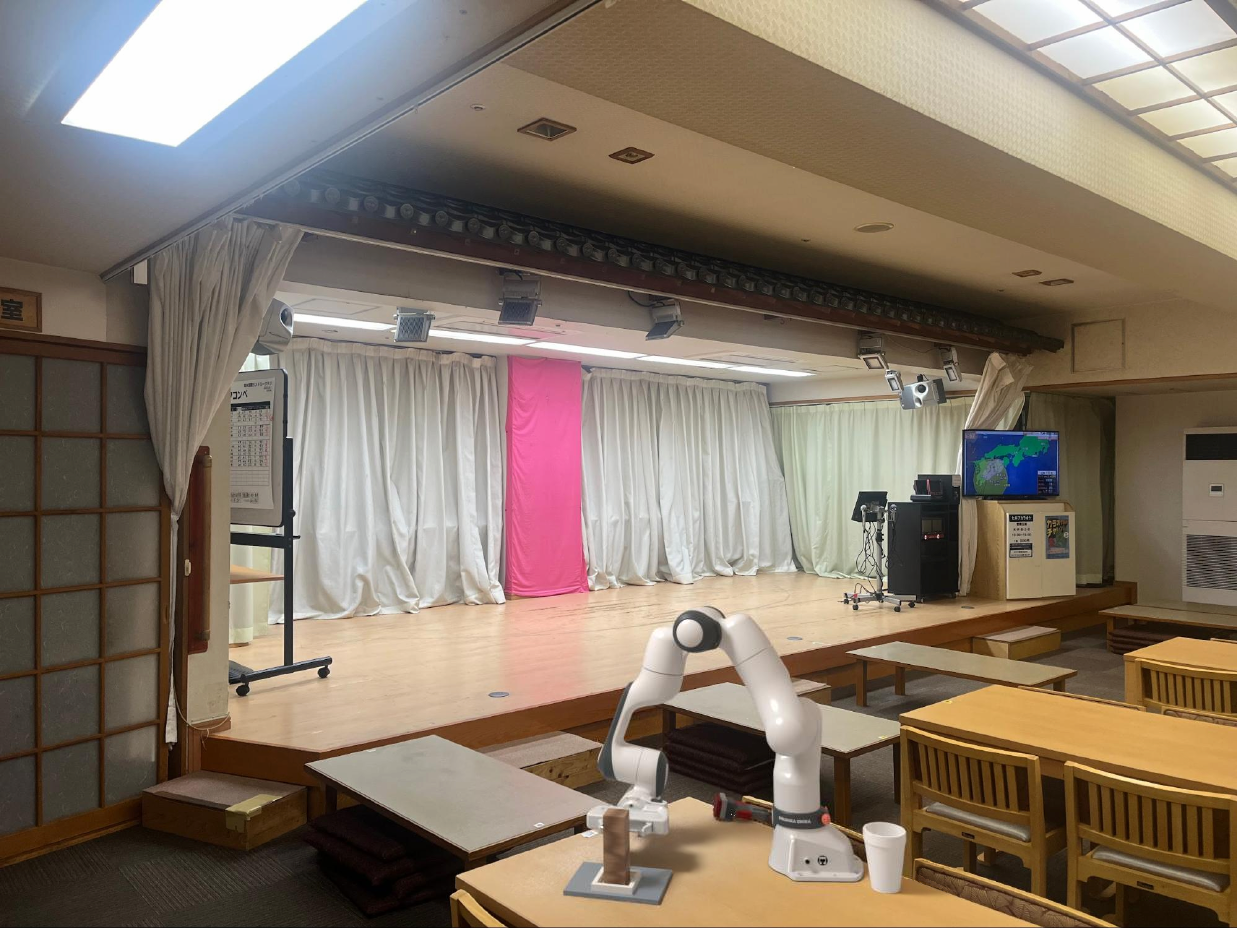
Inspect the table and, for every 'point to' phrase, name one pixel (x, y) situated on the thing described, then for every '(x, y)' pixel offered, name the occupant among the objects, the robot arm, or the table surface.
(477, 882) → the table surface
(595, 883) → the socket
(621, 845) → the pillar
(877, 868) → the foam cup
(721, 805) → the toy
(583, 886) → the board
